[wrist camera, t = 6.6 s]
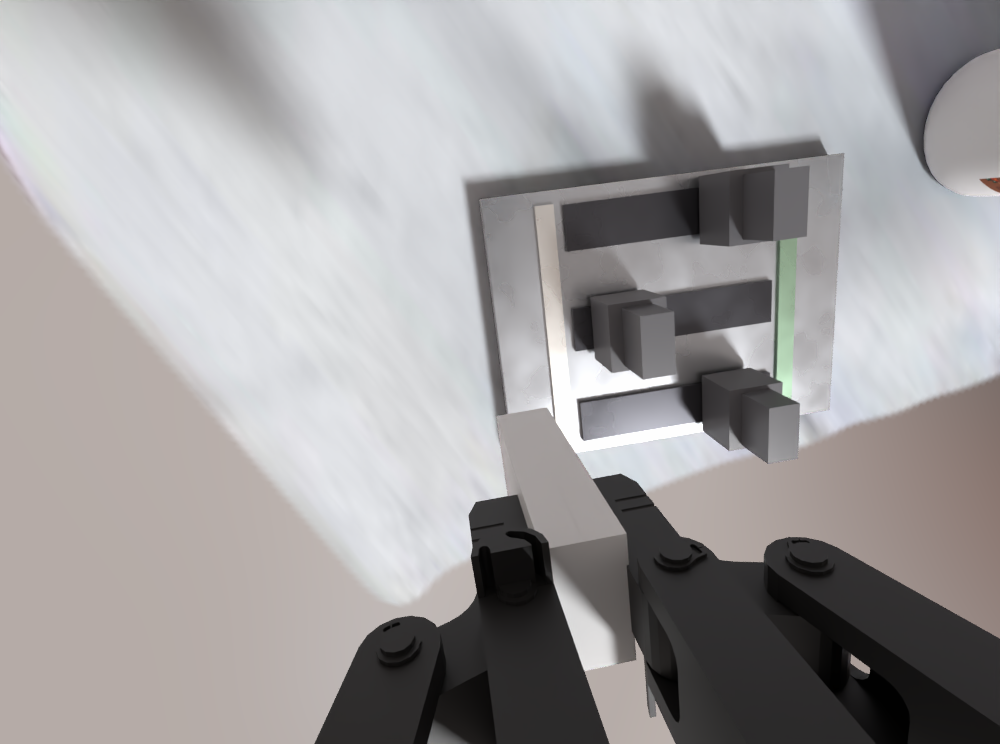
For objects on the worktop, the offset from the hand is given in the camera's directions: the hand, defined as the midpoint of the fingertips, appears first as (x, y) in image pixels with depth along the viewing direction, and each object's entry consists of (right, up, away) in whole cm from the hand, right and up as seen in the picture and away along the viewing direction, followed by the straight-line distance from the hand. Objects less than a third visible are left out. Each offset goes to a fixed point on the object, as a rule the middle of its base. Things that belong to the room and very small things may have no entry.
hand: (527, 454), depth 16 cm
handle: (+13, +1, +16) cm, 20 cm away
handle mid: (+6, +5, +14) cm, 16 cm away
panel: (+9, +6, +16) cm, 19 cm away
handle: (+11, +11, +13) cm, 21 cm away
